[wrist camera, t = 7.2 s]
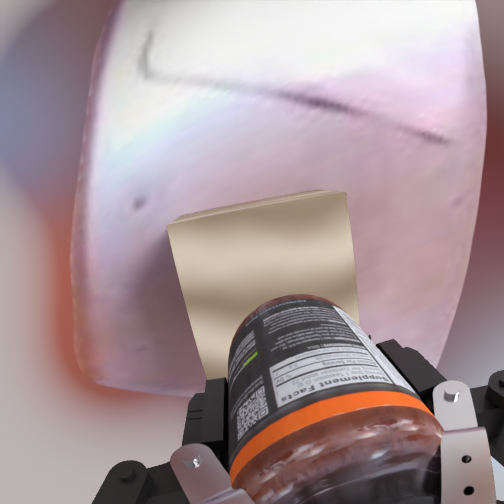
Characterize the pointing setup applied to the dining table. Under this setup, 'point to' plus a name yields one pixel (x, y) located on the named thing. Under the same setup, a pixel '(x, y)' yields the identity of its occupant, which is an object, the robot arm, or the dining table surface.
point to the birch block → (260, 263)
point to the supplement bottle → (323, 412)
